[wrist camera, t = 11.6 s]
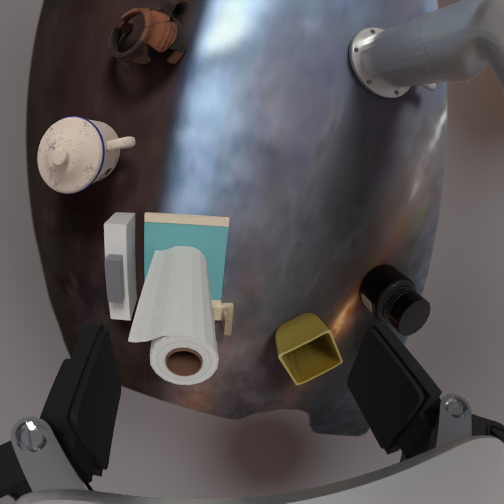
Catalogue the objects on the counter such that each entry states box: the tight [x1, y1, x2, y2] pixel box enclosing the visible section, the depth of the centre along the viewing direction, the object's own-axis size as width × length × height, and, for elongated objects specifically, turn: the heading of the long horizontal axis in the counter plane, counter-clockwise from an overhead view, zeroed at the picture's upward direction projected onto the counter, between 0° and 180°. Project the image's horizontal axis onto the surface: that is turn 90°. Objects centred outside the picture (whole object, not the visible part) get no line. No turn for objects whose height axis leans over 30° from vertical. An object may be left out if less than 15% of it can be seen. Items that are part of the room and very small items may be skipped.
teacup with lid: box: [38, 116, 135, 194], centre depth 30 cm, size 12×9×12 cm
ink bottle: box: [360, 265, 430, 336], centre depth 47 cm, size 10×9×12 cm
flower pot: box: [275, 313, 343, 386], centre depth 48 cm, size 9×9×9 cm
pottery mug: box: [108, 0, 188, 68], centre depth 29 cm, size 12×10×8 cm
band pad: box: [144, 212, 229, 305], centre depth 43 cm, size 12×14×1 cm
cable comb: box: [212, 303, 234, 335], centre depth 44 cm, size 10×2×6 cm, turn 83°
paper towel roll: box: [128, 246, 219, 385], centre depth 33 cm, size 7×6×21 cm
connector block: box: [104, 212, 137, 320], centre depth 38 cm, size 3×14×8 cm, turn 173°
